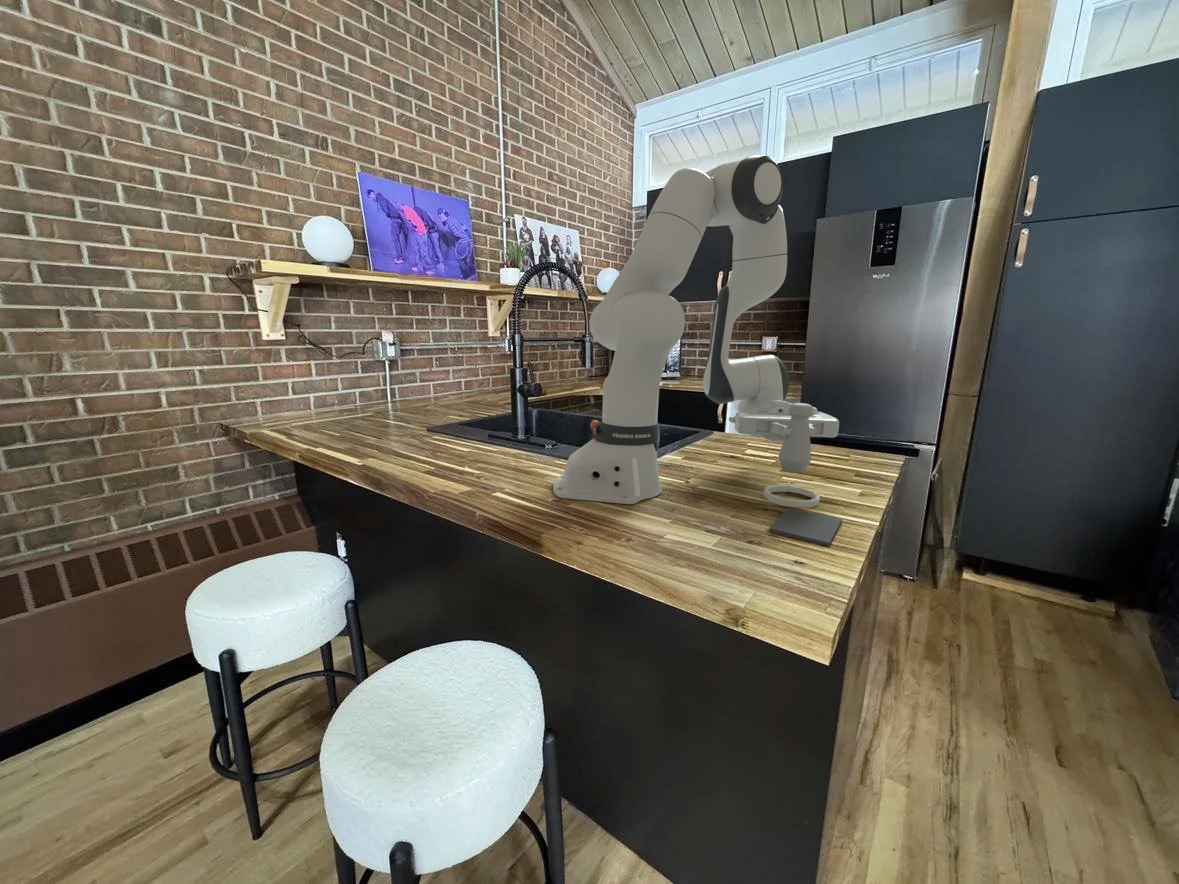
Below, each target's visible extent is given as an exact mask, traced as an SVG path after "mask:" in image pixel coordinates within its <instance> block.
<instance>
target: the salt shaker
mask: <svg viewBox="0 0 1179 884" xmlns="http://www.w3.org/2000/svg"><path fill="white" fill-rule="evenodd" d="M813 407H814V406H812V405H811V404H809V403H804V402H803V403H802V402H794V403H791V405H790V406H789V409H788V413H789V415H791V416H792V417H791V420H790V423H789V427H791V428H792V430H791V433H790V435H789V436H785V438H784V439H783V441H782V444H781V448H780V450H779V453H778V460H779V463H780V465H781V469H782V470H784V471H787V472H793V473H803V472H806V469H807V468H808V467H809V465H810V463H811V461H812V452H811V449H812V448H811V437H810V434H809V417H810V416H812V414H813Z"/></svg>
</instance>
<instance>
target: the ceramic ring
mask: <svg viewBox="0 0 1179 884" xmlns="http://www.w3.org/2000/svg"><path fill="white" fill-rule="evenodd" d="M777 492H778V493H779V492H783V493H785V492H786V493H787V492H789V493H793V494H794V493H795V494H799V495H803V496H805V497H809V498H811V499H807V500H805V499H804V500H800V499H790V498H784V497H780V496H778V495H775V494H772V493H777ZM763 497H764V498H765V499H766V500H767V501H769V502H770V503H771V502H772V503H773V504H776V505H779V506H786V507H788V508H798V509H799V508H800V509H801V508H802V509H803V508H807V509H809V508H813V507H817V506H819V504H820V500H821V495H820V494H819V493H817V492H816V491H814V490H812V489H808V488H805V487H802V486H796V485H790V484H789V485H788V484H775V485H770V486H766V487H765V489H764V490H763Z"/></svg>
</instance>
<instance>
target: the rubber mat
mask: <svg viewBox="0 0 1179 884" xmlns="http://www.w3.org/2000/svg"><path fill="white" fill-rule="evenodd" d="M842 521H843V519H842V518H838V517H833V516H828V515H823V514H820V513H815V512H811V511H810V512H809V511H805V510H801V509H797V508H796V509H795V508H792V507H787V508H786V509H785V510H784V512H783V513H782V514H781V515H779V517H777V519H776V520H775V521H774V523H772V525H771V526H770V527H769V528H768V529H769V530H768V531H769V532H770V533H774V534H777V535H781V536H785V537H790V538H795V539H799V540H803V541H807V542H809V543H813V544H818V545H821V546H822V545H823V546H826V547H830V545H831V543H832V541H833V540H834V538H835V536H836V534H837V532H838V531H839V529H840V526H841V524H842Z"/></svg>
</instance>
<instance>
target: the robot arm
mask: <svg viewBox="0 0 1179 884" xmlns="http://www.w3.org/2000/svg"><path fill="white" fill-rule="evenodd" d="M783 190H784V178H783V172H782V169H781V168H780V166H779V164H778V163H777V162H776V160H775V159H774V158H773V157H771V156H769V155H766V154H763V155H762V154H757V155H750V156H746V157H745V158H743V159H739V160H734V161H731V162H726V163H722V164H721V165H717V166H716V167H713V168H711V169H709V170H707V171H705V172H704V171H702V170H700V169H697V168H694V167H685V168H682V169H678V170H677V171H676V172H674V173H673V174H672V175H671V177H670V178H669V179H668V180H667V182H666V183H665V185H664V187H663V188H662V190H661V191H660V193H659V195H658V197H657V198H656V200H655V202H654V204H653V206H652V208H651V210H650V212H649V214H648V217H647V218H646V221H645V223H644V226H643V228H642V230H641V232H640V235H639V237H638V239H637V241H636V244H635V246H634V249H633V251H632V252H631V254H630V256H629V257H628V260H627V261H626V263H625V265H623V266H624V267H623V268H622V269H621V271H620V272H619V273H618V275H617V277H616V278H615V280H614V281H613V283H612V285H611V286H610V288H609V289H608V291H607V292H606V294H605V296H604V297H603V299H602V300H601V301H600V303H599V304H597V306H596V307H594V309H593V311H592V313H591V314H590V318H589V330H590V332H591V335H592V337H593V338H594V340H595V341H596V342H597V343H598V344H600V345H601V346H603V347H604V348H606V349H609V350H611V351H615V352H614V354H613V358H612V359H613V360H612V364H611V366H610V370H609V373H608V375H607V376H606V378H604V381H603V385H602V415H601V417H602V420H601V421H598V420H597V419H592V420H591V422H590V429H591V440H589V441H588V442H587V443H585V444H584V445H583V446H581V447H580V448H578V449H576V451H574V452H573V453H571V455H570V456H569V457H568V458H567V461H566V463H565V467H564V471H563V474H561V475H559V476H558V477H557V478H555V480H554V482H553V487H552V492H553V494H554V495H555V496H556V497H557V498H560V499H569V500H570V499H571V500H577V501H579V500H580V501H592V502H602V503H610V504H612V503H613V504H620V505H621V504H623V505H624V504H625V505H634V504H637V503H639V502H641V501H643V500H647V499H652V498H654V497H657V496H659V495H660V494H661V493H662V492H663V488H662V483H661V481H660V474H659V466H658V451H659V446H660V424H659V422H658V415H659V414H658V412H659V411H658V410H659V399H660V398H659V397H660V387H661V386H660V385H661V381H662V376H663V373H664V370H665V366H666V364H667V360H668V357H669V355H670V354H671V351H672V349H673V348H674V347H675V346H676V344H677V343H678V342H679V341H680V339H681V337H682V336H683V334H684V332H685V327H686V316H685V312H684V309H683V307H682V305H681V303H680V302H679V301H678V300H677V299H676V298H674V297H672V296H671V295H670V294H671V292H672V291H673V290H674V289H675V288H676V287H677V286H679V285H680V283H682V282H683V280H684V278H685V277H686V275H687V273H688V271H689V268H690V266H691V264H692V261H693V259H694V257H695V255H696V252H697V251H698V248H699V246H700V243H701V241H702V239H703V237H704V234H705V232H706V229H712V228H713V227H723V226H728V228H729V229H730V232H731V234H732V236H733V239H732V240H733V241H732V267H731V272H730V277H729V279H728V281H727V283H726V285H724V286H723V287H722V288H720V289H719V291H718V294H717V297H716V300H715V304H714V311H713V315H712V316H713V317H712V318H713V319H712V324H711V332H710V339H709V345H708V354H707V359H706V364H705V369H704V373H703V378H702V379H703V380H702V386H703V391H704V395H705V396H706V397H707V398H708V399H709V400H711V401H712V402H714V403H716V404H718V405H723V404H728V403H729V404H730V403H733V402H736V401H739V402H738V404H737V412H736V413H735V416H729V417H728V422H730V423H732V424H733V425H734V426H733V427H734V430H735V431H736V432H737V433H738V434H741V435H742V434H743V435H759V436H760V437H762V438H764V439H766V440H769V441H772V442H774V441H775V442H777V441H778V442H779V441H781V440H784V438H785V436H789V435H790V433H791V430H792V428H791V427H789V423H790V420H791V417H792V416H791V415H789V413H788V409H789V406H790V405H791V404H792V403H791V402H788V401H786V399H787V396H788V395H789V388H790V375H789V371H788V368H787V367H786V365H785V364H784V362H783V361H782V360H781V359H780V358H779V357H778V356H776V355H774V354H763V355H756V356H749V357H743V358H742V357H740V358H734V359H730V358H729V354H730V347H731V340H732V334H733V333H732V332H733V327H734V324H735V321H736V320H737V319H738V317H739V316H741V315H742V314H744V313H745V312H746V311H747V310H749V309H750V308H752V307H755V306H757V305H758V304H761V303H763V302H764V301H766V300H768V299H769V298H770V297H772V296H773V295H774V294H775V293H776V292H777V291H778V290H779V289H780V288H781V287H782V285H783V283H784V281H785V279H786V275H787V270H788V269H787V268H788V238H787V230H786V229H787V228H786V220H785V215H784V210H783V208H782V207H781V205H780V203H781V199H782V195H783ZM812 407H813V414H812V416H810V417H809V434H810V438H811V437H812V438H831V439H833V438H836V437H837V436H838V434H839V430H840V429H839V428H840V420H839V419H838V418H836V417H834V416H832V415H829V414H828V413H824V412H822V411H818V408H817V407H814V406H812Z"/></svg>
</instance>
